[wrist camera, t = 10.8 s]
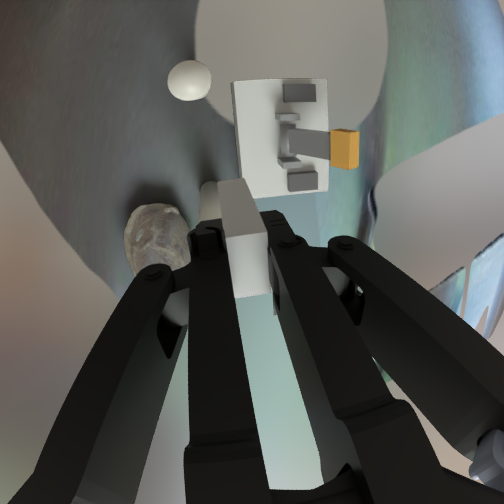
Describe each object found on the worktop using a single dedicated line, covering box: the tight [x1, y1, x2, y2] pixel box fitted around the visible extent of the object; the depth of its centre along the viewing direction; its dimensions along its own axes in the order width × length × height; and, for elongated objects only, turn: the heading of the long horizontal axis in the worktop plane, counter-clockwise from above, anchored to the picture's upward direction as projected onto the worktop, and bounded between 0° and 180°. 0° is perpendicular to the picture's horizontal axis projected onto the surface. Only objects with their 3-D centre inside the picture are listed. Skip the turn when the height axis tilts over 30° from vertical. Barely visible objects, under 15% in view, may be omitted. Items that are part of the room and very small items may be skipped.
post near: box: [168, 60, 211, 101], centre depth 27 cm, size 3×3×20 cm
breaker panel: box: [231, 78, 328, 199], centre depth 37 cm, size 16×12×8 cm
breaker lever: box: [280, 123, 359, 170], centre depth 32 cm, size 4×2×10 cm
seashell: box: [124, 203, 191, 278], centre depth 43 cm, size 9×12×15 cm
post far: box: [198, 181, 222, 224], centre depth 35 cm, size 3×3×20 cm
